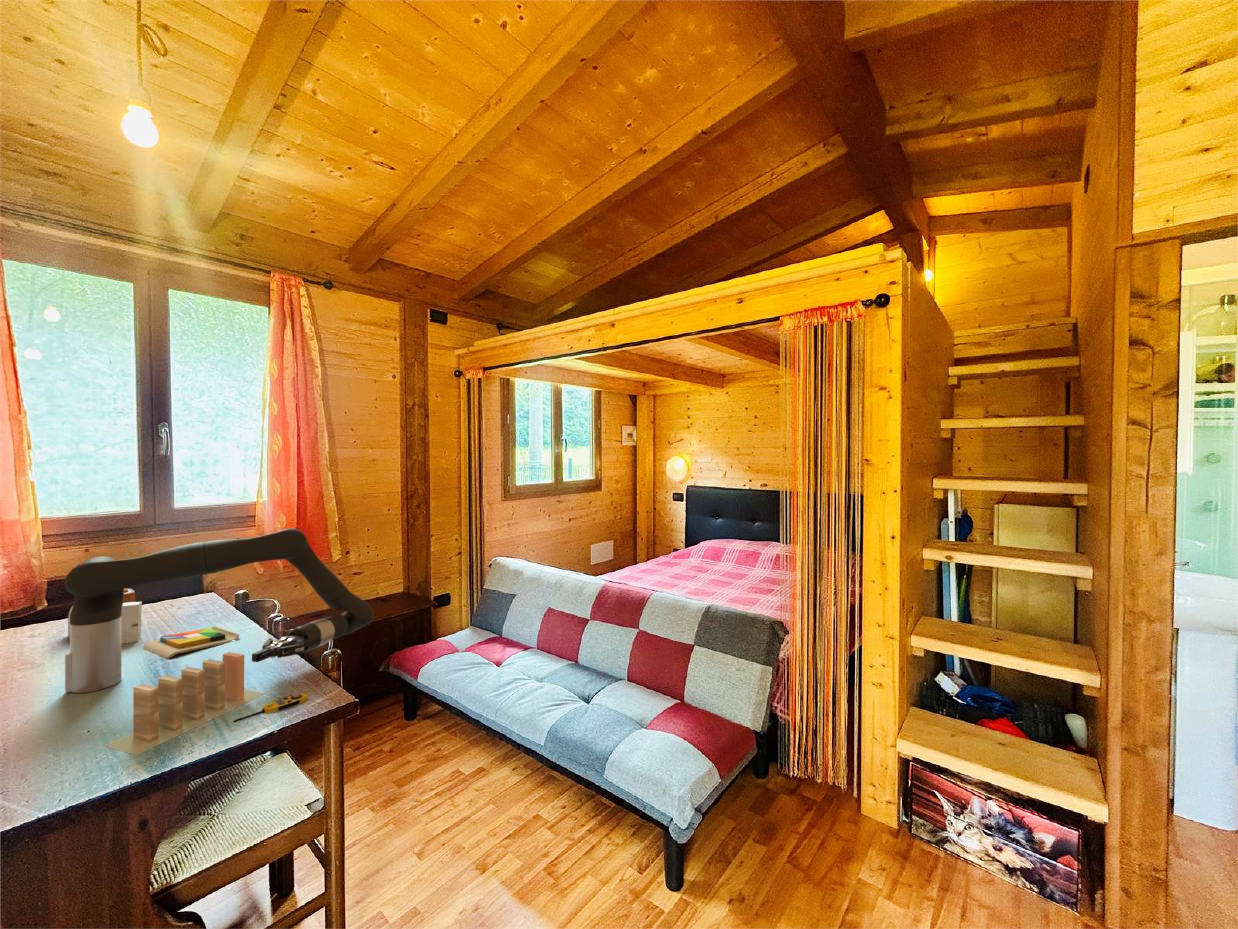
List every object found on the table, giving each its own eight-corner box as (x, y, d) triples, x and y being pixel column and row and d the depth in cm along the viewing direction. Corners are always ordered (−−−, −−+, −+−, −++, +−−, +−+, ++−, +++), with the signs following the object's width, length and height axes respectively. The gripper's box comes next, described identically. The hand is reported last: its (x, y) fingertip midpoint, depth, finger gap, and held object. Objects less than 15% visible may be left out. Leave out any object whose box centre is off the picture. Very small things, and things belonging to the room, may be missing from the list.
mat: (136, 757, 99) (136, 755, 99) (103, 748, 102) (103, 746, 102) (265, 695, 125) (265, 693, 125) (236, 689, 128) (236, 687, 128)
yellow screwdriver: (310, 695, 122) (236, 720, 110) (310, 703, 122) (236, 729, 110) (302, 689, 125) (229, 713, 113) (302, 697, 125) (229, 721, 113)
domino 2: (174, 731, 108) (174, 681, 108) (158, 727, 109) (158, 678, 109) (182, 727, 109) (182, 678, 109) (166, 723, 111) (166, 675, 110)
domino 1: (149, 742, 103) (149, 690, 103) (133, 738, 105) (133, 687, 105) (158, 738, 105) (158, 687, 105) (142, 734, 106) (142, 684, 106)
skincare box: (111, 645, 154) (111, 607, 154) (115, 641, 158) (115, 603, 158) (138, 641, 158) (138, 604, 158) (142, 637, 162) (142, 600, 161)
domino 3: (196, 720, 112) (197, 672, 112) (181, 717, 113) (181, 669, 113) (204, 717, 114) (204, 669, 113) (188, 713, 115) (189, 666, 115)
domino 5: (237, 701, 121) (237, 657, 121) (222, 698, 122) (222, 654, 122) (244, 698, 122) (244, 654, 122) (229, 695, 124) (229, 652, 124)
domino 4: (217, 710, 116) (217, 664, 116) (202, 707, 118) (202, 662, 118) (224, 707, 118) (225, 662, 118) (209, 704, 119) (209, 659, 119)
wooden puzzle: (240, 640, 162) (240, 629, 162) (168, 661, 145) (168, 649, 145) (213, 631, 170) (213, 621, 170) (141, 650, 153) (141, 638, 153)
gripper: (294, 620, 146) (235, 640, 129) (330, 625, 142) (273, 647, 125) (294, 645, 146) (234, 669, 129) (330, 651, 142) (273, 676, 125)
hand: (254, 658), depth 127 cm, fingers closed
